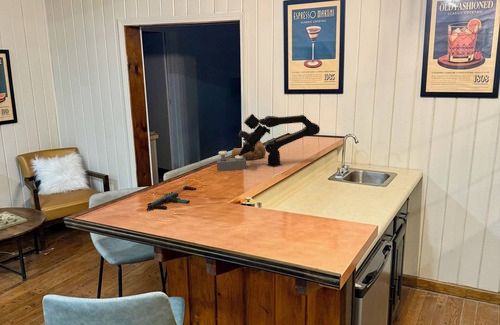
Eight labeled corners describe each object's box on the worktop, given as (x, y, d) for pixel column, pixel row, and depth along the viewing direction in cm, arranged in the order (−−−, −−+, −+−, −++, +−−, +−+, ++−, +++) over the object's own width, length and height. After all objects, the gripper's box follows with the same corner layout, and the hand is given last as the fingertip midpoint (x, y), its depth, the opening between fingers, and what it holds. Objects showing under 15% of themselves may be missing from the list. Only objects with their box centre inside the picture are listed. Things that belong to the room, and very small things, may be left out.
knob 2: (243, 165, 235) (243, 154, 233) (244, 167, 230) (243, 156, 229) (235, 166, 234) (234, 155, 233) (235, 168, 230) (235, 157, 228)
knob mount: (245, 165, 236) (245, 157, 235) (246, 169, 229) (245, 160, 227) (218, 167, 236) (217, 159, 235) (217, 171, 228) (216, 162, 227)
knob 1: (227, 161, 234) (226, 150, 232) (227, 163, 229) (226, 152, 228) (219, 162, 233) (218, 151, 232) (219, 164, 229) (218, 153, 227)
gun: (170, 210, 167) (140, 206, 173) (170, 215, 167) (140, 211, 173) (208, 188, 195) (181, 185, 201) (209, 192, 195) (182, 189, 201)
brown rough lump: (258, 167, 245) (271, 155, 254) (253, 152, 240) (267, 140, 249) (233, 164, 256) (247, 151, 266) (229, 149, 251) (243, 137, 261)
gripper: (245, 122, 236) (228, 143, 238) (247, 127, 218) (228, 149, 220) (260, 135, 238) (242, 155, 240) (263, 141, 220) (243, 162, 222)
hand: (239, 155), depth 231 cm, fingers closed
